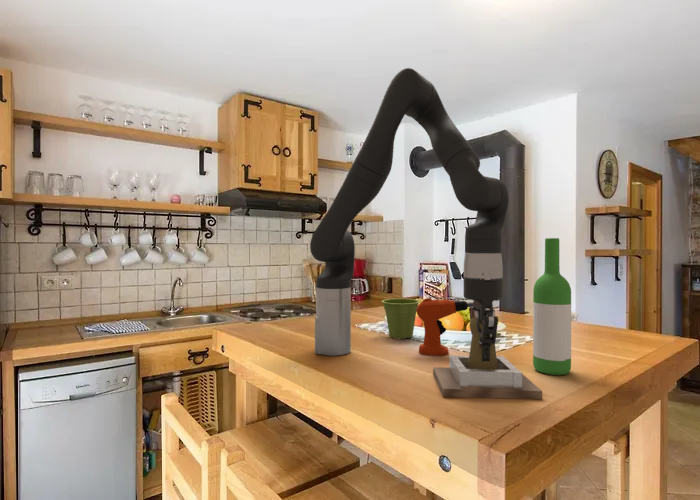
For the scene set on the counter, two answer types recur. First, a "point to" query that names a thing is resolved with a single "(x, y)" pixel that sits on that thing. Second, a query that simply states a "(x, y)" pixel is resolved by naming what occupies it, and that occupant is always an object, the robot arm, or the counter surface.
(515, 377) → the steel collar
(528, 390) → the socket board
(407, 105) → the robot arm
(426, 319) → the toy drill
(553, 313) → the wine bottle
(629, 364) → the counter surface
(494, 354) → the olive chess pawn
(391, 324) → the plant pot
